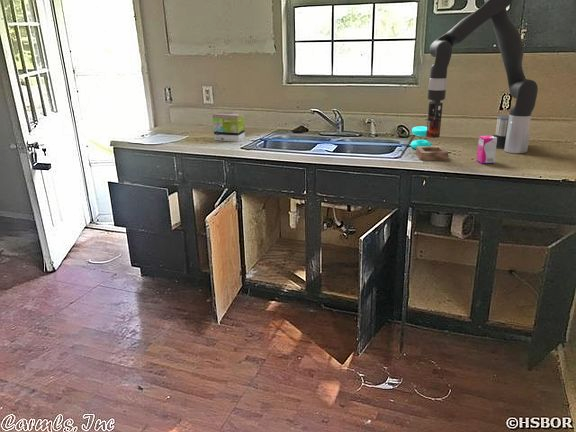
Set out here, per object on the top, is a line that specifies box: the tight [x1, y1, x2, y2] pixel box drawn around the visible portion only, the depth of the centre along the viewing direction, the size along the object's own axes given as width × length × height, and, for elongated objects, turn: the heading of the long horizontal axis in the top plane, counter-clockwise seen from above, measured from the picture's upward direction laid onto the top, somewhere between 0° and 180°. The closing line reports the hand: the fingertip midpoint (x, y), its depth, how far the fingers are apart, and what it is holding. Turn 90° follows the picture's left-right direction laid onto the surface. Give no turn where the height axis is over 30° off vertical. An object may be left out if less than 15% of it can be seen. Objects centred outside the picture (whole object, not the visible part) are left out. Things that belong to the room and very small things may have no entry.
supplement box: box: [476, 135, 497, 165], centre depth 207 cm, size 6×6×12 cm
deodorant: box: [425, 101, 444, 139], centre depth 214 cm, size 6×6×15 cm
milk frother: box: [490, 115, 509, 150], centre depth 235 cm, size 14×16×15 cm
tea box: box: [212, 111, 246, 143], centre depth 265 cm, size 15×10×15 cm
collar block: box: [415, 145, 449, 161], centre depth 220 cm, size 12×12×4 cm
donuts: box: [410, 126, 432, 150], centre depth 236 cm, size 10×10×10 cm
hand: (433, 126), depth 216 cm, fingers closed on deodorant, 6 cm apart
